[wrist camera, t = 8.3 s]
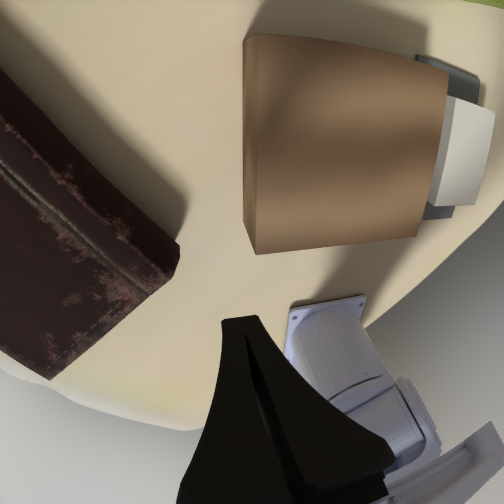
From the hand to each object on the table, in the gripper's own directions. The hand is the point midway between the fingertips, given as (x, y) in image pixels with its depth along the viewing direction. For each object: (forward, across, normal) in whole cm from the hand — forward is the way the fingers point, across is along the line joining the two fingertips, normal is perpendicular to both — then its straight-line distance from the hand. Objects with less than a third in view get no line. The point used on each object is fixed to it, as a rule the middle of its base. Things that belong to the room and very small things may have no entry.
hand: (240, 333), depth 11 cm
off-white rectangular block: (+8, -20, -5) cm, 22 cm away
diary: (+11, +17, -3) cm, 21 cm away
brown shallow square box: (+10, -8, -5) cm, 14 cm away
